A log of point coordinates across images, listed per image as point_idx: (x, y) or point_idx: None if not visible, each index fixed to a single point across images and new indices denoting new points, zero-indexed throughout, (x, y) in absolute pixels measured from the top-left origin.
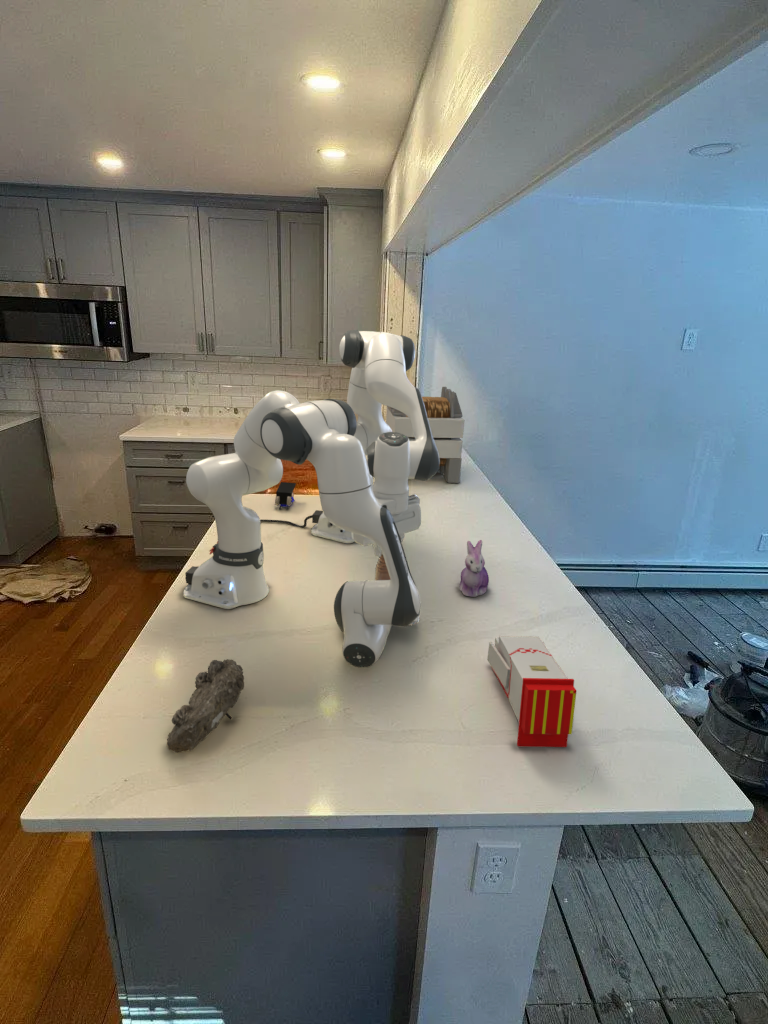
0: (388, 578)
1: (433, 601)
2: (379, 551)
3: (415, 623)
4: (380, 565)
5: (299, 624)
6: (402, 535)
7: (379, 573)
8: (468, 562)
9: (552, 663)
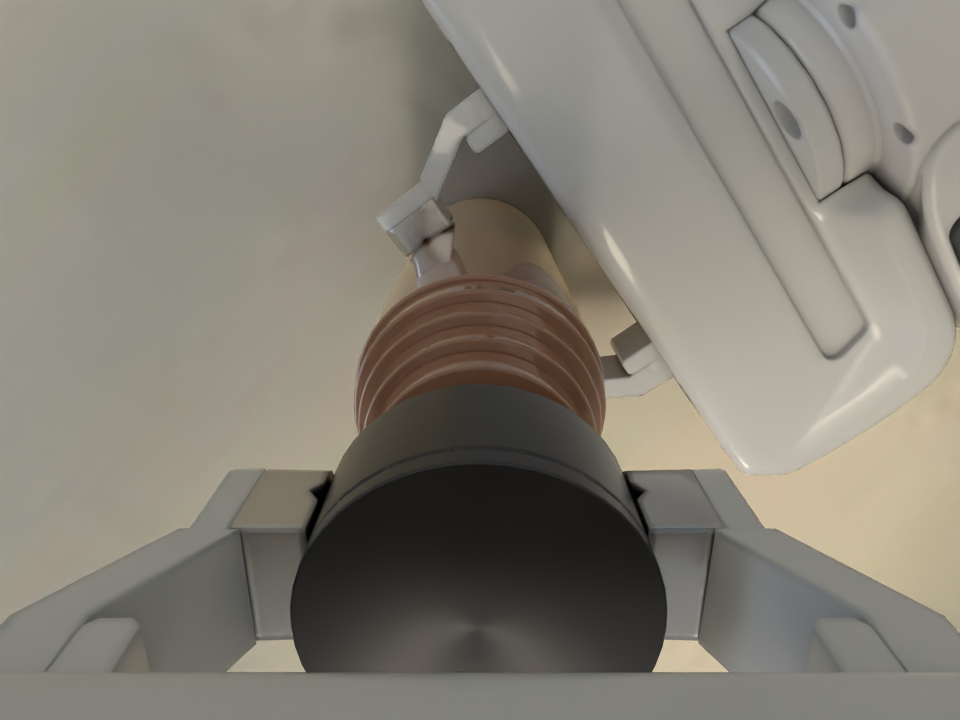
0: (540, 274)
1: (83, 151)
2: (759, 523)
3: None
4: (595, 423)
5: (945, 463)
6: (44, 660)
7: (602, 373)
8: None
9: None
